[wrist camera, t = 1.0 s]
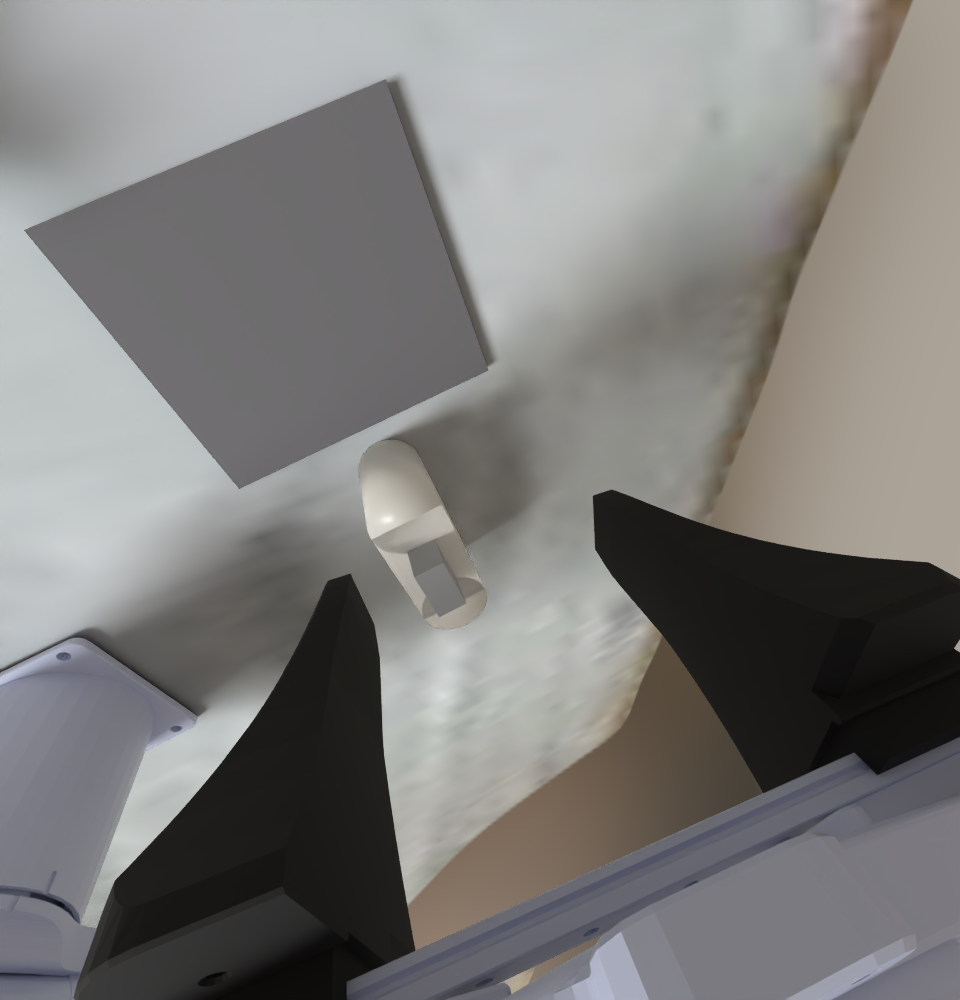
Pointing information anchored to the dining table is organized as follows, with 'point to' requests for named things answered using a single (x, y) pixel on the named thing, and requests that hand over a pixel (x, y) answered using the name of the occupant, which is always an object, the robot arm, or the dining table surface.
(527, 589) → the dining table surface
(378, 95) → the mat
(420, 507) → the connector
